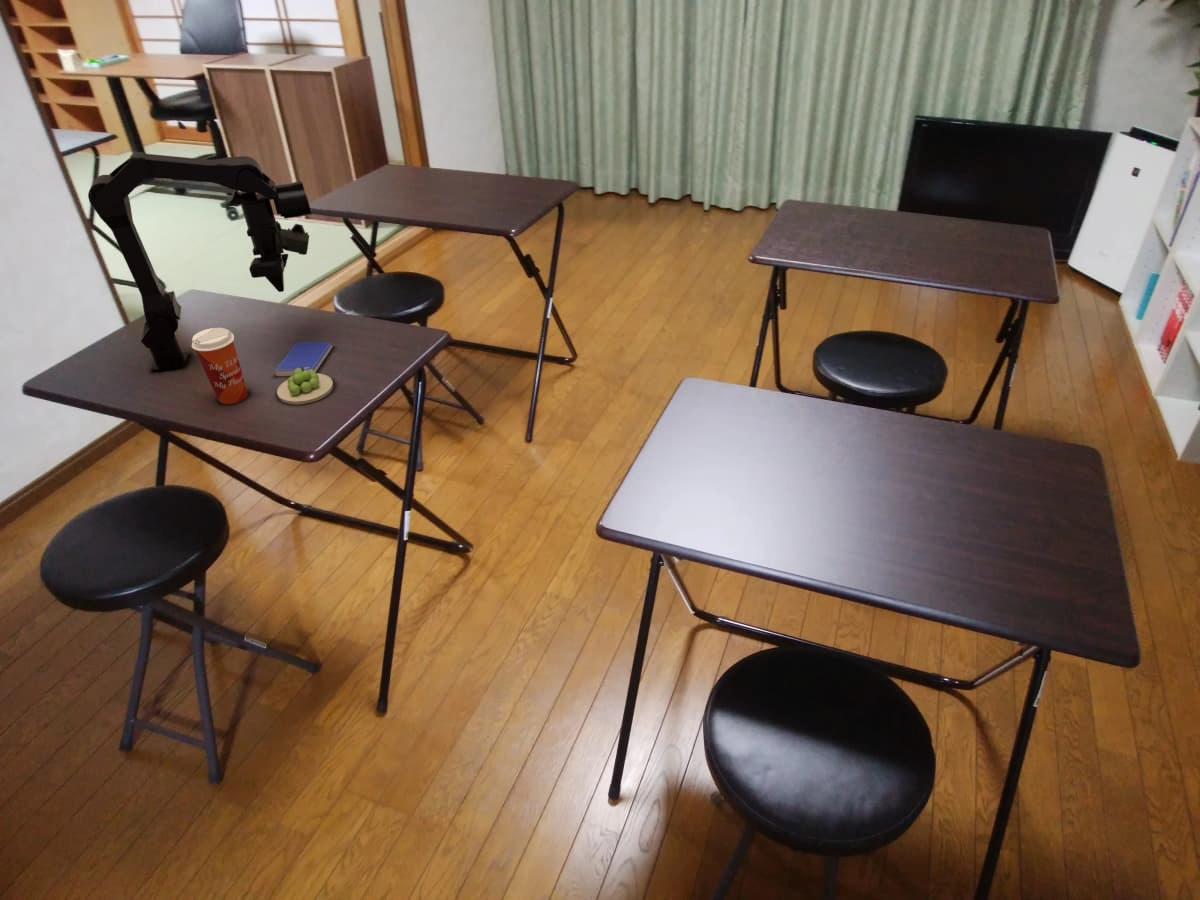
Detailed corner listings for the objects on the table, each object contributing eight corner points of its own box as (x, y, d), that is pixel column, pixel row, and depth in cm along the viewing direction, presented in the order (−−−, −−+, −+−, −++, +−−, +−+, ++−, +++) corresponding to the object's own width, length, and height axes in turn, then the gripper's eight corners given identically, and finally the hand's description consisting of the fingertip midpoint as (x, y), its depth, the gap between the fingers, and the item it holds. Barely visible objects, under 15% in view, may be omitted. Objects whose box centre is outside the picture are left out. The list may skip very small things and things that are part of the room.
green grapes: (290, 379, 158) (284, 359, 155) (321, 375, 159) (315, 355, 157) (287, 398, 152) (280, 377, 150) (319, 393, 154) (313, 372, 151)
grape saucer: (280, 380, 160) (279, 377, 159) (334, 373, 162) (333, 370, 161) (275, 408, 151) (274, 404, 151) (332, 400, 153) (331, 396, 153)
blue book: (312, 369, 160) (331, 342, 170) (274, 369, 160) (295, 342, 170) (313, 376, 161) (332, 348, 171) (276, 376, 161) (297, 348, 171)
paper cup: (226, 411, 151) (202, 348, 142) (205, 399, 154) (181, 337, 146) (261, 394, 156) (240, 332, 147) (240, 382, 159) (218, 322, 151)
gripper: (297, 233, 152) (316, 304, 162) (304, 203, 167) (321, 270, 176) (239, 239, 150) (261, 311, 160) (251, 208, 165) (271, 276, 174)
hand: (281, 291), depth 168 cm, fingers closed
